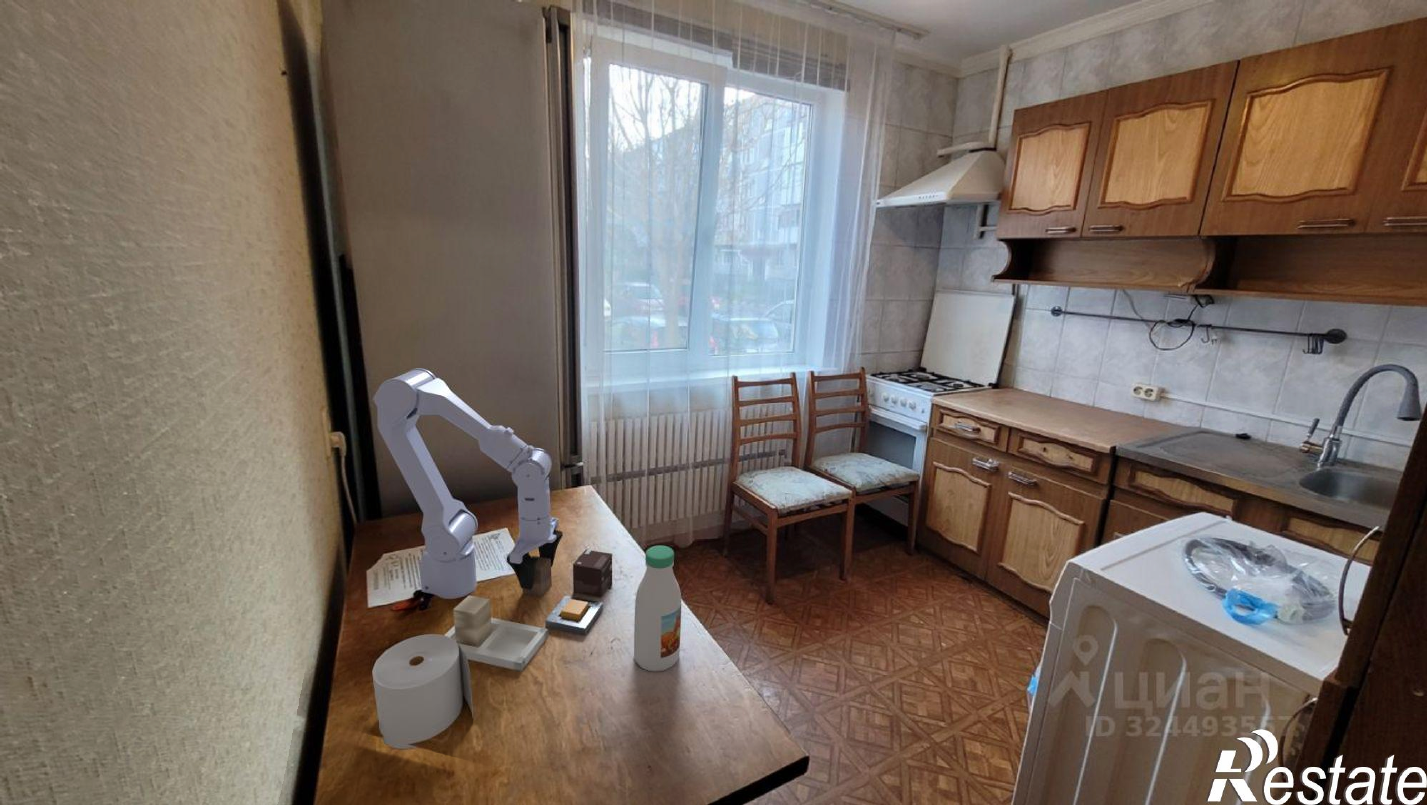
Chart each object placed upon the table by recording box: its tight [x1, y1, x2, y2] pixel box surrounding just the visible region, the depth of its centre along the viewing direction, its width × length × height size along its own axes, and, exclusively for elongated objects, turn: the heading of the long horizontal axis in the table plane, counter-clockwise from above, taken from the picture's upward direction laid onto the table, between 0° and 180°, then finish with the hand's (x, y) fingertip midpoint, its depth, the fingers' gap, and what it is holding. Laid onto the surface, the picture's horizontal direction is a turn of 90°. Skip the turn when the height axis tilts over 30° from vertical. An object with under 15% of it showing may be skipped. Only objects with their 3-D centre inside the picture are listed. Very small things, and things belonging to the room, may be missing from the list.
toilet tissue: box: [371, 633, 474, 750], centre depth 77 cm, size 11×12×10 cm
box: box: [572, 549, 613, 598], centre depth 109 cm, size 6×6×7 cm
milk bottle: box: [633, 545, 682, 672], centre depth 90 cm, size 8×8×20 cm
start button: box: [561, 599, 588, 621], centre depth 99 cm, size 4×4×3 cm
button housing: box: [544, 595, 604, 637], centre depth 99 cm, size 8×8×2 cm
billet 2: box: [521, 555, 552, 598], centre depth 107 cm, size 4×4×7 cm
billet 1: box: [452, 594, 492, 648], centre depth 92 cm, size 4×4×7 cm
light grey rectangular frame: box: [444, 617, 549, 672], centre depth 92 cm, size 16×8×2 cm, turn 78°
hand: (537, 576), depth 107 cm, fingers open, 7 cm apart
